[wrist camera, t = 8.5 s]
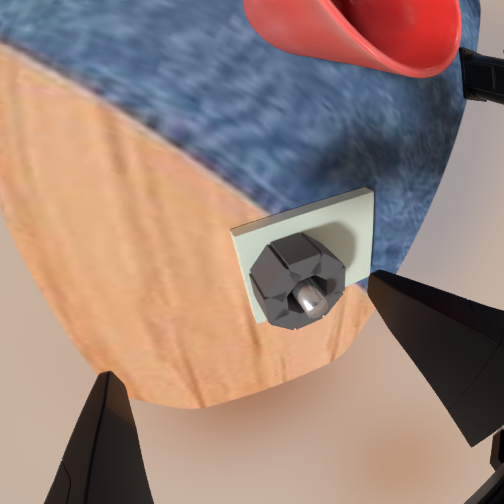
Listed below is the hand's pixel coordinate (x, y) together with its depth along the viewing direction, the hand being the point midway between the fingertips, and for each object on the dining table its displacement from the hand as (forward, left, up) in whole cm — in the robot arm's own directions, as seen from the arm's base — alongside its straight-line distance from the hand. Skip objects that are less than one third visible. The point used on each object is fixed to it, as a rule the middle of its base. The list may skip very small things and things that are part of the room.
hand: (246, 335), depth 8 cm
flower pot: (-10, -12, -12) cm, 20 cm away
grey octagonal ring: (-6, +7, -11) cm, 14 cm away
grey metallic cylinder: (-6, +7, -12) cm, 15 cm away
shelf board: (-8, +7, -12) cm, 16 cm away
